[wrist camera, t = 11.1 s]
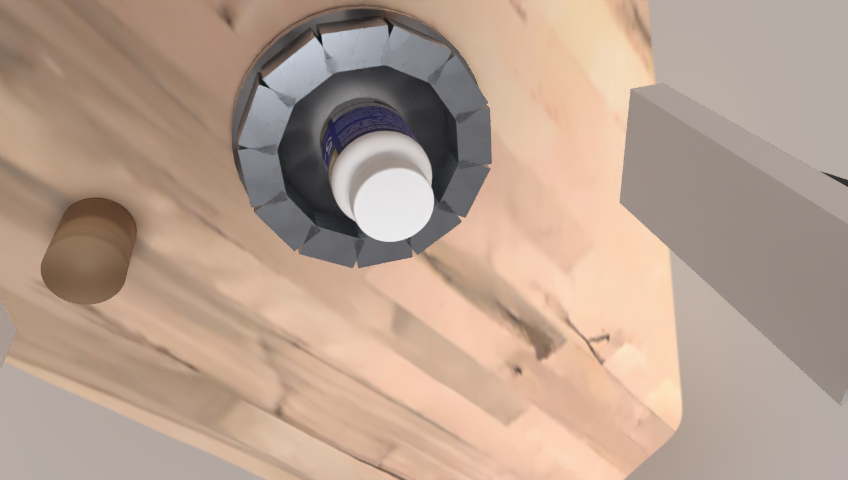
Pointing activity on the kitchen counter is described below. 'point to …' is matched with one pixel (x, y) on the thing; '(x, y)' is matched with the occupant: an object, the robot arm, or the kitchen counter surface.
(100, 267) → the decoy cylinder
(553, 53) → the kitchen counter surface
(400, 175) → the pill bottle
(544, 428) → the kitchen counter surface
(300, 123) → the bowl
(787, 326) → the robot arm
